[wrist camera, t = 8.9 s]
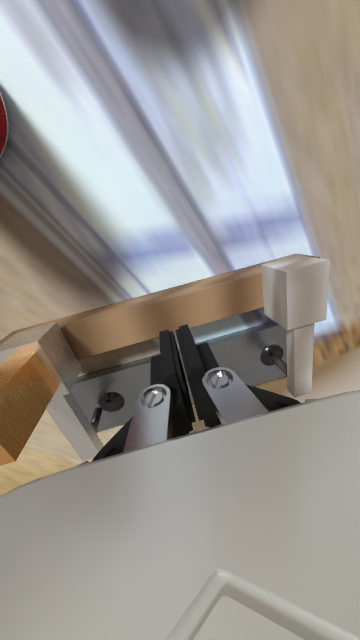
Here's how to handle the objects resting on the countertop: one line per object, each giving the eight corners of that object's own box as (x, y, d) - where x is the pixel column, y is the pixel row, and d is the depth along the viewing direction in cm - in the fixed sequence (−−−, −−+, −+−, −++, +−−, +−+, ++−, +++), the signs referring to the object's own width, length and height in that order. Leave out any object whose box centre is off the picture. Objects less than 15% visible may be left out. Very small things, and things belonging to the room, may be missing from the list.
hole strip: (291, 316, 22) (298, 320, 21) (292, 367, 25) (298, 372, 24) (53, 384, 21) (49, 391, 20) (82, 429, 24) (79, 437, 23)
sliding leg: (65, 313, 17) (-24, 401, 8) (116, 412, 22) (94, 535, 13) (29, 323, 17) (-100, 423, 8) (88, 420, 22) (47, 549, 13)
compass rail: (295, 246, 19) (358, 252, 14) (296, 349, 24) (342, 386, 18) (8, 324, 18) (-55, 366, 13) (68, 415, 23) (42, 476, 17)
